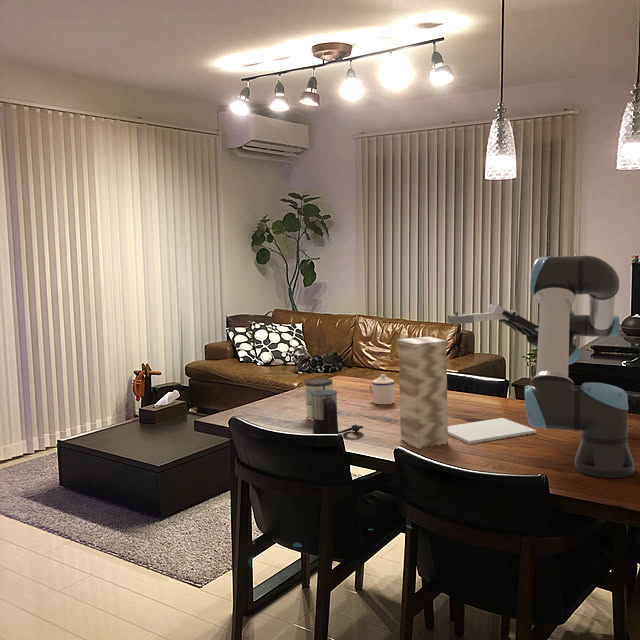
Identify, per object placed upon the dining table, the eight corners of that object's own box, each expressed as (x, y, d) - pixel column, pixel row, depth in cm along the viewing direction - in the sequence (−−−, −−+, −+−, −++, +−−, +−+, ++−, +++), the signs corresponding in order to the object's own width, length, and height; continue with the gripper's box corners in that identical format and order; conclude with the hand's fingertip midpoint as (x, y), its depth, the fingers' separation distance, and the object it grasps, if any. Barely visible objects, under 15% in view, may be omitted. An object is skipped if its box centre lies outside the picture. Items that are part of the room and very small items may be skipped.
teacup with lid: (399, 402, 270) (399, 374, 269) (385, 406, 264) (384, 377, 263) (377, 398, 279) (376, 370, 277) (362, 402, 272) (361, 374, 271)
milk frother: (306, 434, 230) (304, 391, 228) (343, 426, 238) (342, 385, 237) (331, 443, 218) (329, 398, 216) (368, 434, 227) (367, 391, 225)
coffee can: (309, 414, 257) (307, 377, 256) (335, 414, 255) (334, 377, 254) (304, 421, 247) (302, 383, 246) (331, 421, 245) (330, 383, 244)
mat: (469, 444, 211) (468, 441, 211) (438, 430, 228) (438, 427, 228) (536, 433, 221) (536, 430, 220) (502, 420, 237) (502, 417, 237)
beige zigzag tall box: (416, 449, 208) (414, 344, 204) (398, 439, 219) (396, 339, 215) (450, 443, 212) (448, 340, 209) (430, 434, 223) (428, 336, 220)
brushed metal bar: (457, 324, 213) (457, 312, 212) (447, 322, 218) (447, 311, 218) (520, 318, 221) (519, 307, 221) (508, 316, 227) (508, 306, 227)
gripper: (553, 350, 222) (501, 320, 213) (523, 345, 236) (473, 316, 227) (562, 330, 222) (511, 298, 214) (531, 325, 237) (482, 296, 228)
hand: (492, 307), depth 221 cm, fingers closed on brushed metal bar, 2 cm apart
